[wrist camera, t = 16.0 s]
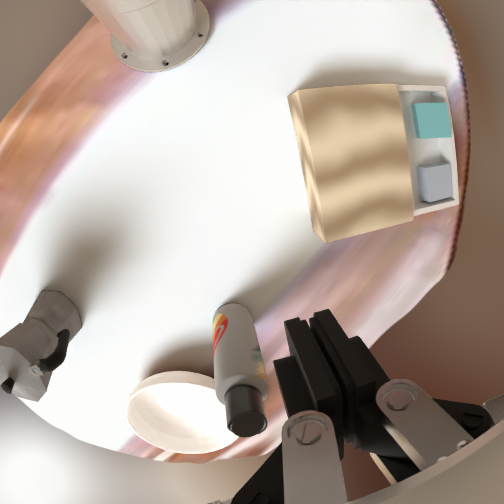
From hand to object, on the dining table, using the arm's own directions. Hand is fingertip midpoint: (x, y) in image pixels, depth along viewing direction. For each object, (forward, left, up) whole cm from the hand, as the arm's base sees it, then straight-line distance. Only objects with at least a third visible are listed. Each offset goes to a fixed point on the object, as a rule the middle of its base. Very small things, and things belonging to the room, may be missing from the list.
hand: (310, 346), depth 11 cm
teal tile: (-7, +28, -25) cm, 38 cm away
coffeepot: (+9, -31, -29) cm, 44 cm away
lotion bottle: (+16, -5, -29) cm, 34 cm away
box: (-3, +27, -29) cm, 40 cm away
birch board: (-3, +15, -29) cm, 33 cm away
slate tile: (+2, +28, -26) cm, 39 cm away
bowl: (+30, -17, -29) cm, 45 cm away
